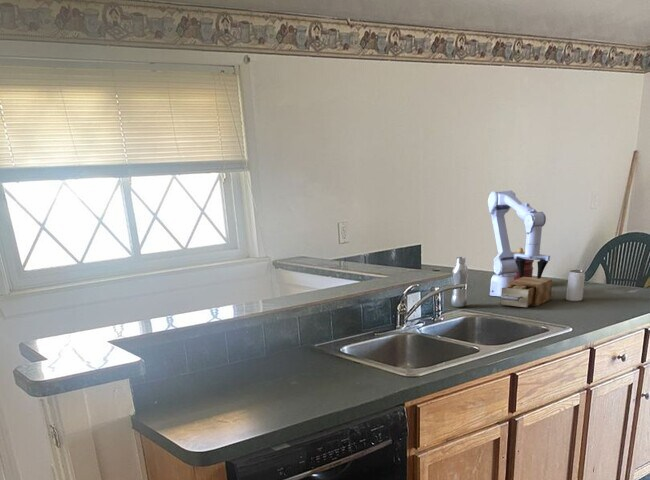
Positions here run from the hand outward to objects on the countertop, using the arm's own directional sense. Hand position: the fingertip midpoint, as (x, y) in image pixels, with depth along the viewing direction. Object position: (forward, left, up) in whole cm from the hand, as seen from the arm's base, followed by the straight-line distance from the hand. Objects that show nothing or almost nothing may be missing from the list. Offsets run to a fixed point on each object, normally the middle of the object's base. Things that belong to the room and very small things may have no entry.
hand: (530, 277), depth 270 cm
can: (+14, +14, -10) cm, 22 cm away
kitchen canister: (-19, +31, -10) cm, 37 cm away
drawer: (-1, -8, -9) cm, 12 cm away
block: (-1, -8, -8) cm, 12 cm away
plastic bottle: (-21, -21, -10) cm, 32 cm away
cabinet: (-1, +3, -10) cm, 11 cm away
